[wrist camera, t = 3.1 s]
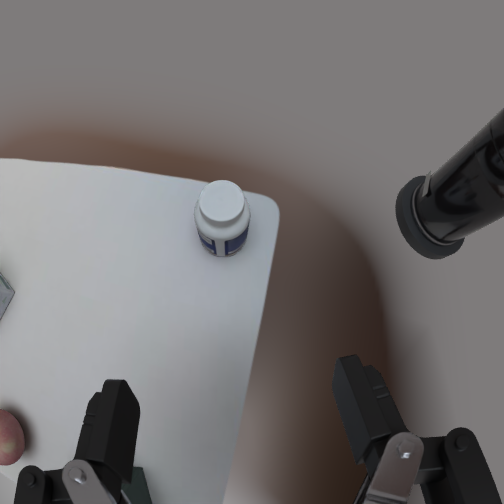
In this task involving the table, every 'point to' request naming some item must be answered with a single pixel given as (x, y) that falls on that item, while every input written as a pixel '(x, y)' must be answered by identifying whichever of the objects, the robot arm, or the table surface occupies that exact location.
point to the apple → (10, 439)
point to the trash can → (137, 488)
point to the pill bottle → (222, 218)
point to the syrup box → (4, 295)
